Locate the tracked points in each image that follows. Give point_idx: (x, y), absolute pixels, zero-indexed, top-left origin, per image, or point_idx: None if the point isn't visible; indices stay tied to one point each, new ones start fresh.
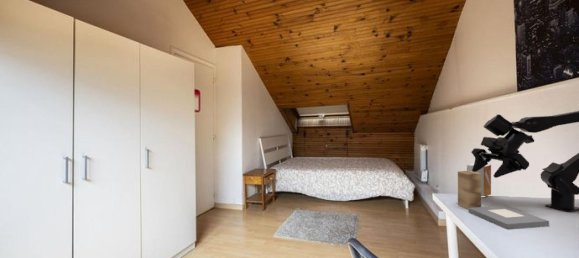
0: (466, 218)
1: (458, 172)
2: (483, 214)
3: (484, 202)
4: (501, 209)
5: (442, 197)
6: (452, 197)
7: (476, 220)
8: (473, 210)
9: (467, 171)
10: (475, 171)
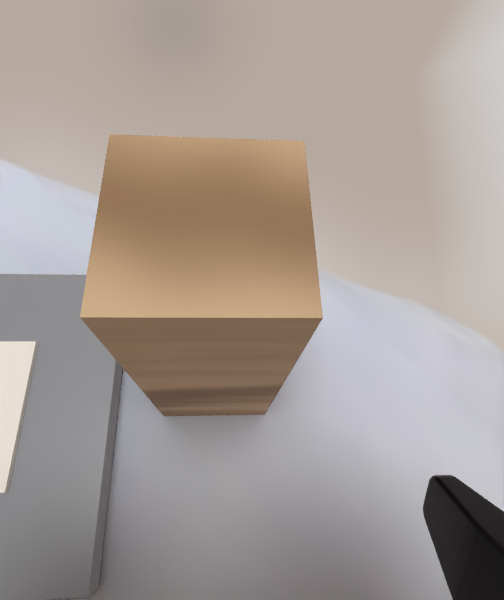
0: (58, 212)
1: (289, 151)
2: (7, 274)
3: (289, 577)
4: (8, 451)
5: (427, 336)
6: (429, 407)
7: (18, 236)
8: (85, 276)
9: (274, 244)
10: (438, 541)
